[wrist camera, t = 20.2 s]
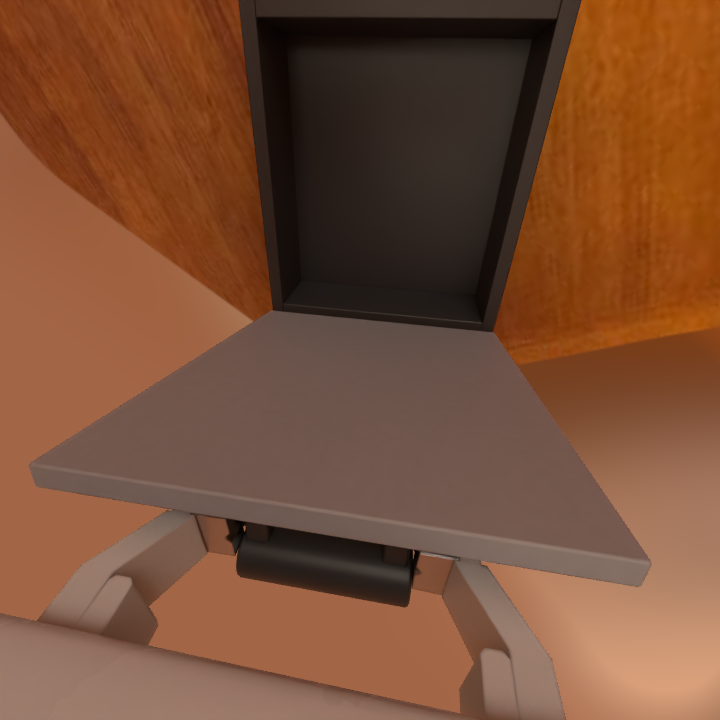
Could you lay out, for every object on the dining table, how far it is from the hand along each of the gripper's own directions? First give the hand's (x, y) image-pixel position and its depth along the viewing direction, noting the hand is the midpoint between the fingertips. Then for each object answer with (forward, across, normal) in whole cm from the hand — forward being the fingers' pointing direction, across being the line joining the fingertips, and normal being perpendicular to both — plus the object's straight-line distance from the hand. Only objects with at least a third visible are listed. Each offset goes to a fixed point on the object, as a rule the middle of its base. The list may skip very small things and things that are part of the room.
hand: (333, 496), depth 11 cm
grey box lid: (+5, 0, -1) cm, 5 cm away
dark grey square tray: (+18, 0, -6) cm, 19 cm away
